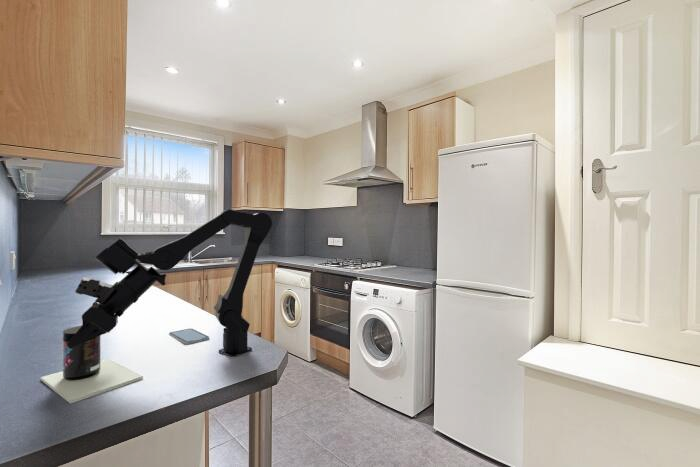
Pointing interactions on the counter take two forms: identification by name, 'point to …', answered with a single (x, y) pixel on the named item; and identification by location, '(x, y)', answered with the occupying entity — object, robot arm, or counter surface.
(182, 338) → the smartphone
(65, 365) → the supplement container
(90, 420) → the counter surface
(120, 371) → the mat
